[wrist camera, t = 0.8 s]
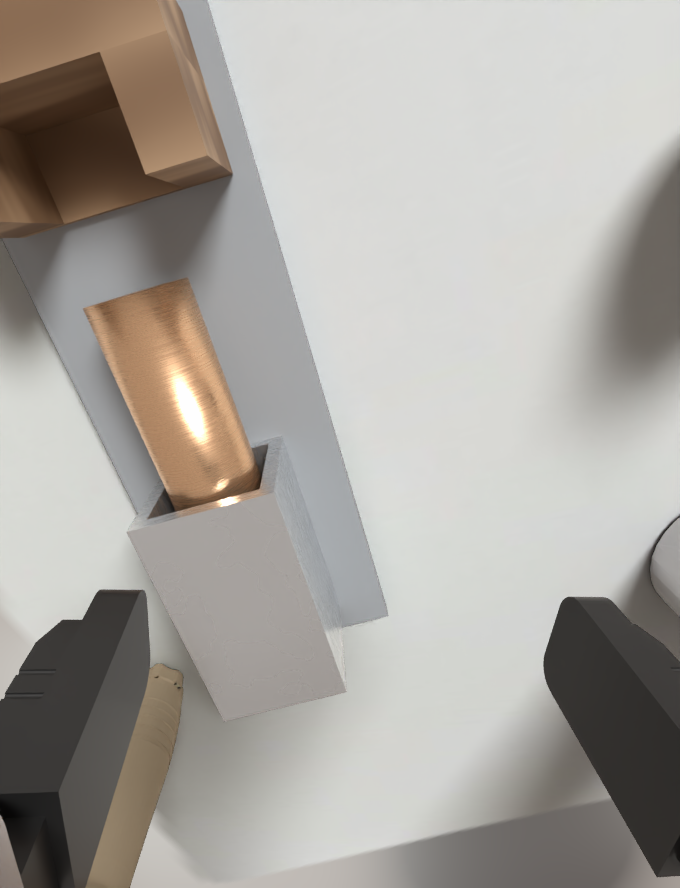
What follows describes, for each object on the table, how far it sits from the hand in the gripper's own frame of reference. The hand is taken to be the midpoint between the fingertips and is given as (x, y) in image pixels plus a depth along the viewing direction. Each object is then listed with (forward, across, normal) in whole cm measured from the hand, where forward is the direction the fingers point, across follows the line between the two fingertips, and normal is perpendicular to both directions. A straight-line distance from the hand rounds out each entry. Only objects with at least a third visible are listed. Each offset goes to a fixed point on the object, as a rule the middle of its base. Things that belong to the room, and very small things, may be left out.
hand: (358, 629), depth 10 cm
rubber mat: (+19, +6, +1) cm, 20 cm away
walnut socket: (+19, +10, -10) cm, 23 cm away
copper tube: (+17, +5, +4) cm, 18 cm away
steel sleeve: (+18, +2, +10) cm, 21 cm away
